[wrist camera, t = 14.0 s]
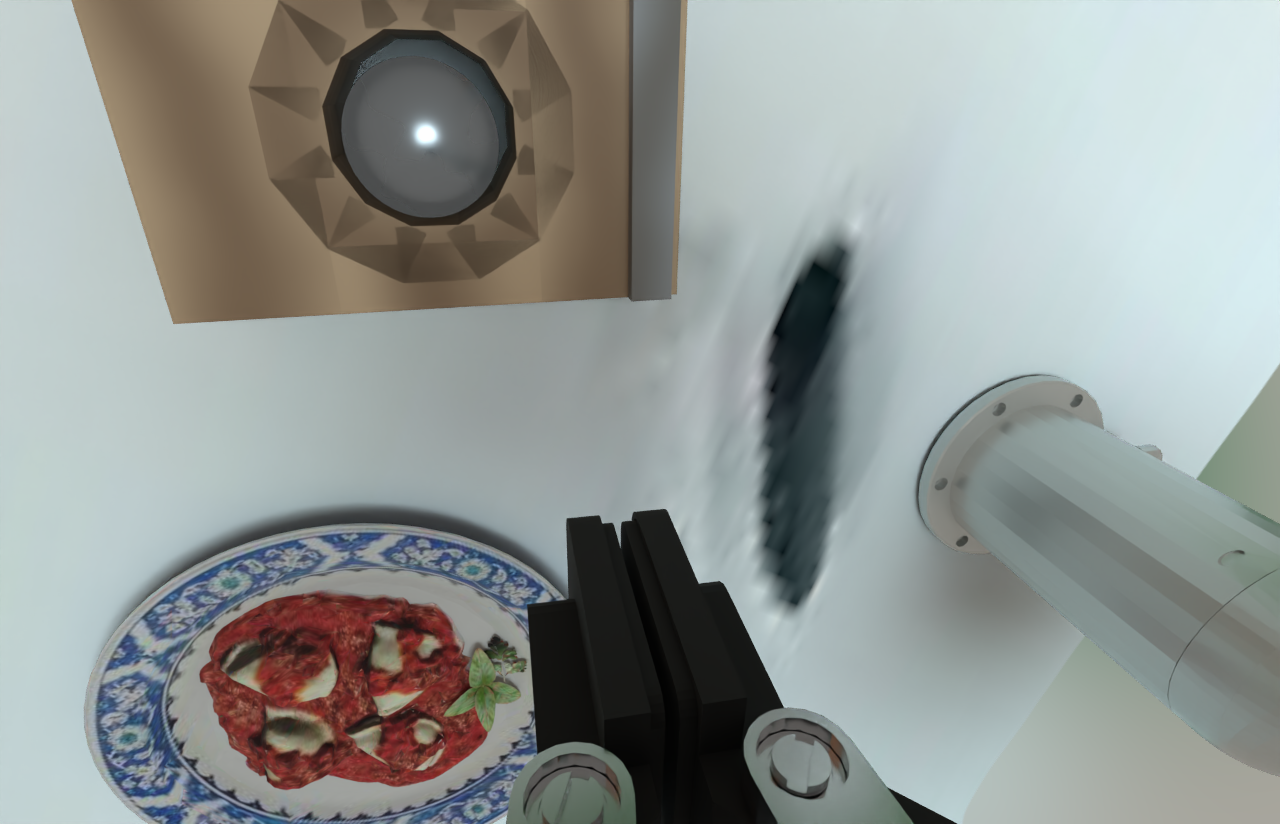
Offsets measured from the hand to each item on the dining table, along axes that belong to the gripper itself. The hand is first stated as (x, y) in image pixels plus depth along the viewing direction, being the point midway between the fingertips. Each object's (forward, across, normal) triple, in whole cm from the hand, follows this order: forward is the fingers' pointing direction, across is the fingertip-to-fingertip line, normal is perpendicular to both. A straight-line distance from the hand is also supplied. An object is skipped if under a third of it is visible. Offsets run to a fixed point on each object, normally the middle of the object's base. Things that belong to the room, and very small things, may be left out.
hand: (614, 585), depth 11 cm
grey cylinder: (+21, +4, -6) cm, 22 cm away
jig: (+21, +4, -6) cm, 22 cm away
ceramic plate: (+22, +11, +24) cm, 34 cm away
